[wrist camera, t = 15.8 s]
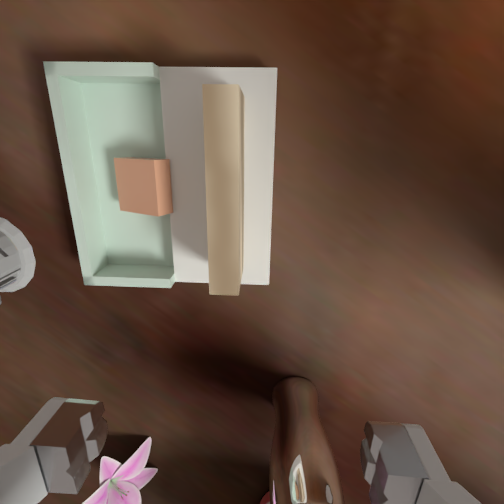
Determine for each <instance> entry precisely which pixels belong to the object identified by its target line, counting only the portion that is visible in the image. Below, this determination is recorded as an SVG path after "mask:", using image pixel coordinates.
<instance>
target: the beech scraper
mask: <svg viewBox="0 0 504 504" xmlns="http://www.w3.org/2000/svg"><path fill="white" fill-rule="evenodd" d="M202 95H203V124H204V153H205V182H206V211H207V240H208V269H209V294H211V295H239V290H240V285H241V279H242V274H243V262H244V122H245V96H244V94H243V92H242V90H241V88H240V86H239V84H202Z"/></svg>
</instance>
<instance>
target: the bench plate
mask: <svg viewBox="0 0 504 504" xmlns="http://www.w3.org/2000/svg"><path fill="white" fill-rule="evenodd" d="M159 76H160V89H161V102H162V116H163V129H164V142H165V156H166V159H170V174H171V188H172V203H173V213H170V222H171V236H172V249H173V262H174V276H175V282H198V283H209V269H208V240H207V211H206V182H205V153H204V124H203V95H202V84H239V86H240V88H241V90H242V92H243V94H244V96H245V122H244V262H243V274H242V279H241V284H257V285H269V272H270V246H271V220H272V194H273V168H274V142H275V116H276V90H277V68H254V67H159Z"/></svg>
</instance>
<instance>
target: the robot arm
mask: <svg viewBox="0 0 504 504" xmlns="http://www.w3.org/2000/svg"><path fill="white" fill-rule="evenodd" d="M104 411H105V409H104V405H103V402H100V401H91V400H81V399H72V398H59V397H54V398H52V399H50V400H49V401H48V402H47V403H46V404H45V405H44V406H43V407H42V408H41V410H40V411H39V412H38V413H37V414H36V415H35V416H34V418H33V419H32V420H31V421H30V422H29V423H28V424H27V426H26V427H25V428H24V429H23V430H22V431H21V433H20V434H19V435H18V436H17V437H16V438H15V439H14V441H13V442H12V443H11V444H4V445H3V446H1V447H0V504H37V503H38V502H40V501H41V500H42V499H43V498H44V497H45V496H46V495H47V494H48V493H47V492H51V493H68V494H78V492H79V490H80V488H81V486H82V485H83V483H84V481H85V479H86V477H87V476H88V474H89V472H90V470H91V469H90V462H91V461H92V460H93V459H95V458H96V457H97V456H99V454H100V452H101V450H102V448H103V447H104V444H105V441H106V437H107V431H108V426H107V421H106V420H105V419H104V418H103V417H102V414H103V413H104ZM364 432H365V435H366V438H365V439H364V440H363V441H362V443H361V449H360V456H361V466H362V471H363V474H364V478H365V479H366V480H367V481H368V482H369V484H370V485H371V487H370V492H369V497H370V501H371V504H481V503H480V502H479V501H478V500H477V499H475V498H474V497H473V496H472V495H471V494H470V493H469V492H467V491H466V490H465V489H464V488H463V487H462V486H461V485H460V484H458V483H457V482H452V481H451V480H450V478H449V477H448V475H447V473H446V471H445V469H444V467H443V465H442V463H441V461H440V460H439V458H438V456H437V454H436V452H435V450H434V448H433V446H432V444H431V442H430V441H429V439H428V437H427V435H426V433H425V431H424V429H423V428H422V427H421V426H420V425H416V424H400V423H389V422H373V421H367V422H366V424H365V428H364Z"/></svg>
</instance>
